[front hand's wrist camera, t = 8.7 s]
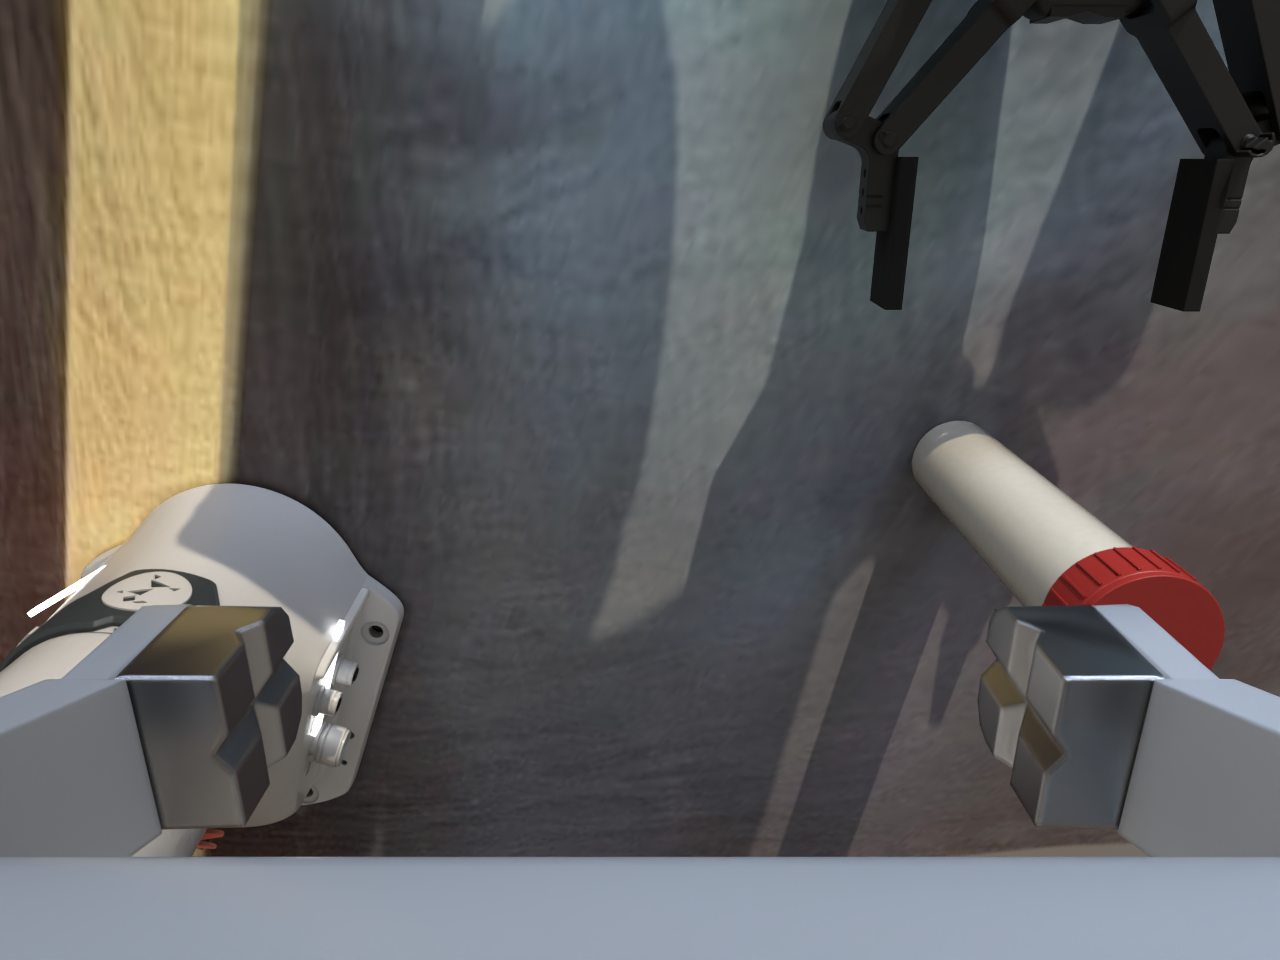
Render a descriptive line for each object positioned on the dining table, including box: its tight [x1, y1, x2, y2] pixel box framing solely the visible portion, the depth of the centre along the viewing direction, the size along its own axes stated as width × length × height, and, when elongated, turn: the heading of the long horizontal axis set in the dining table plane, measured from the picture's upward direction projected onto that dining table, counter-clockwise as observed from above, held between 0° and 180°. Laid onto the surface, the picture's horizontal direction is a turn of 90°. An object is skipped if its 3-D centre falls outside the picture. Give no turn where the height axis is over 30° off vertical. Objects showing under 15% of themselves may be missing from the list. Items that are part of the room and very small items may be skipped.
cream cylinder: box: [912, 421, 1132, 607], centre depth 41 cm, size 5×5×20 cm
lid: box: [1042, 546, 1225, 670], centre depth 32 cm, size 6×6×2 cm
